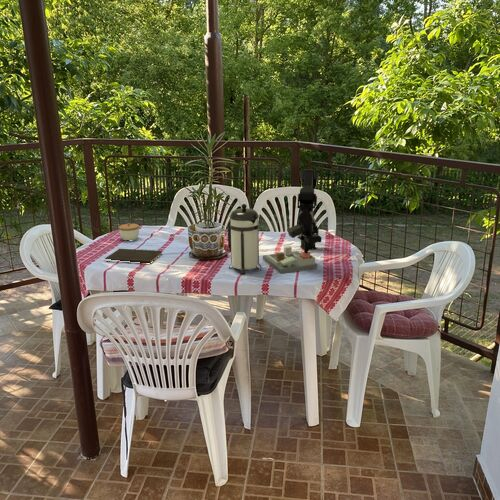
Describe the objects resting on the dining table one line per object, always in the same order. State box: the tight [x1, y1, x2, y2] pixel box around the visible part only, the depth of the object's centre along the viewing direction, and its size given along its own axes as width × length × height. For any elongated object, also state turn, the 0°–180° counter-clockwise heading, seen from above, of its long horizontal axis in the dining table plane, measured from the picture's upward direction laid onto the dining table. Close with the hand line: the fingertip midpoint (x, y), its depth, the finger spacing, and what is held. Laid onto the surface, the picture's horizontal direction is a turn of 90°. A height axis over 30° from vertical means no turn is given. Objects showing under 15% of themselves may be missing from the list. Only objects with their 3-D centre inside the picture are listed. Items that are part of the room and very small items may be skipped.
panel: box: [262, 250, 318, 275], centre depth 239 cm, size 18×21×5 cm
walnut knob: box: [275, 251, 284, 262], centre depth 236 cm, size 3×2×4 cm
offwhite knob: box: [283, 245, 293, 256], centre depth 245 cm, size 3×2×4 cm
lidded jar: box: [118, 222, 140, 241], centre depth 280 cm, size 11×11×9 cm
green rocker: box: [280, 256, 295, 266], centre depth 230 cm, size 6×4×1 cm, turn 109°
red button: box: [300, 251, 311, 259], centre depth 233 cm, size 4×4×4 cm
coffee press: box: [227, 203, 263, 275], centre depth 230 cm, size 17×16×30 cm
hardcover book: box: [104, 248, 163, 264], centre depth 251 cm, size 16×23×2 cm
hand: (305, 252), depth 233 cm, fingers closed, pressing on red button
